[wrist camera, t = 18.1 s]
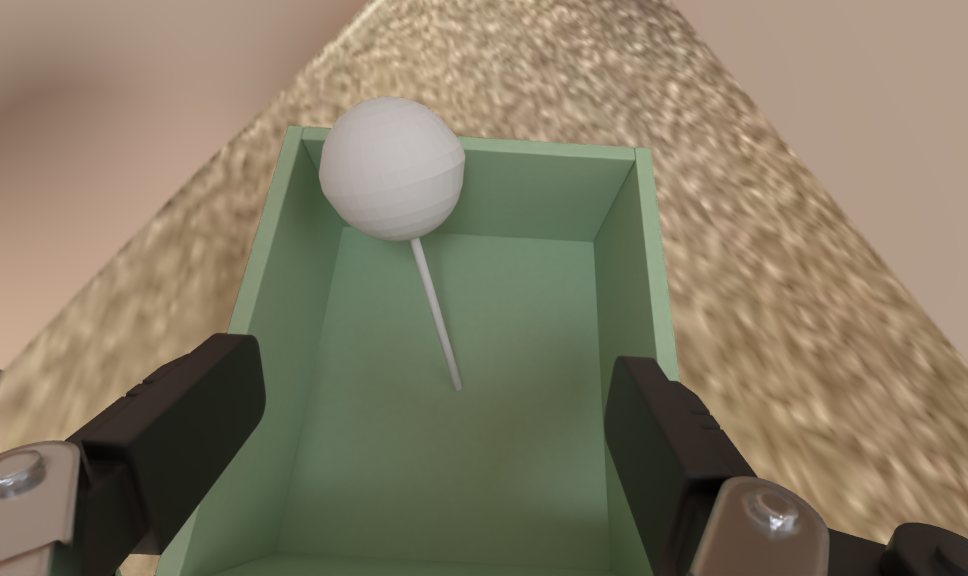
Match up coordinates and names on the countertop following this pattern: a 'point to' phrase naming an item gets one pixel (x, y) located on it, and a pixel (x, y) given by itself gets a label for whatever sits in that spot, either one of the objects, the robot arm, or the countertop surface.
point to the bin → (442, 376)
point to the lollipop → (395, 180)
